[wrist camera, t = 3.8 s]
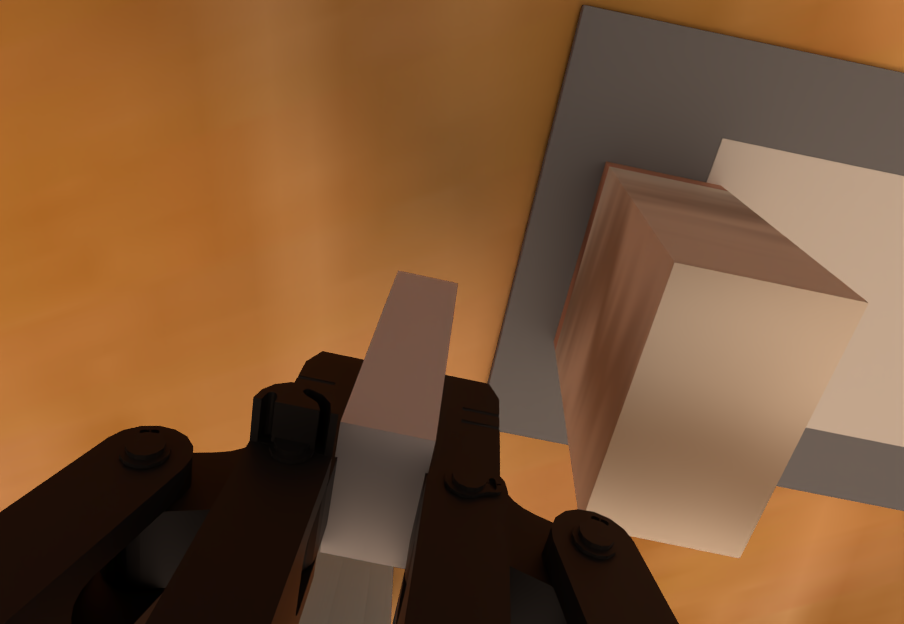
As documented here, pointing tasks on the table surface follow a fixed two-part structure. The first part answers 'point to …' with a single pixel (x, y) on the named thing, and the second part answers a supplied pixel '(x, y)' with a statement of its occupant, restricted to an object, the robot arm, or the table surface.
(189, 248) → the table surface
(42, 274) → the table surface
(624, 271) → the block
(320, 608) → the cup
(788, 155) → the mat
